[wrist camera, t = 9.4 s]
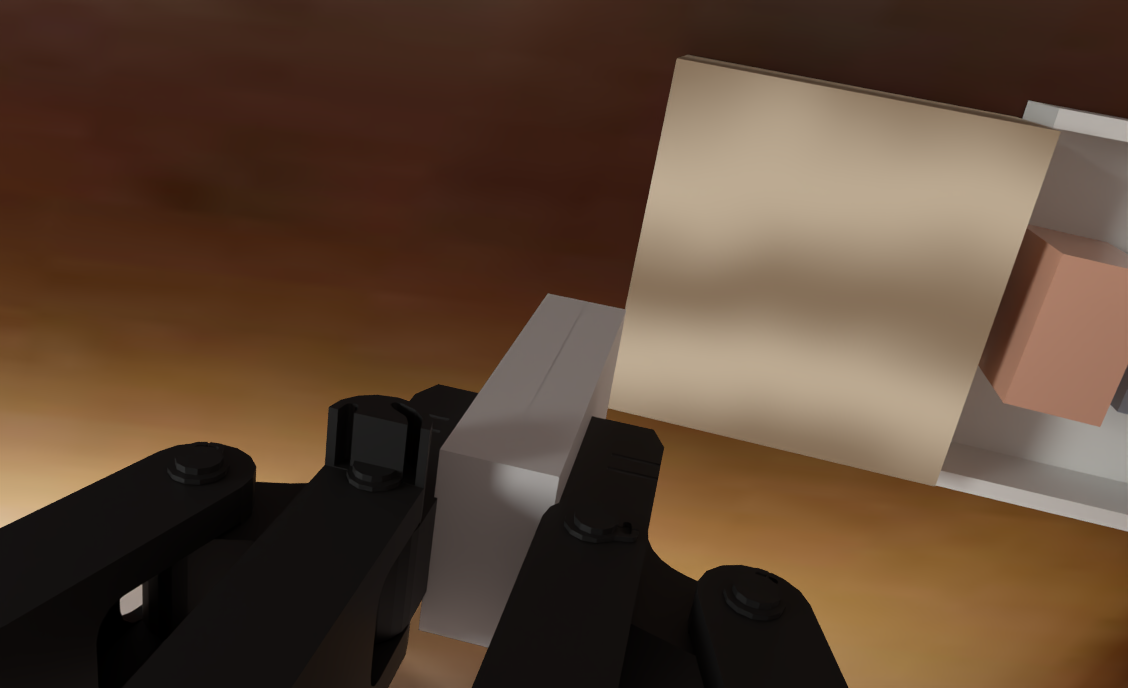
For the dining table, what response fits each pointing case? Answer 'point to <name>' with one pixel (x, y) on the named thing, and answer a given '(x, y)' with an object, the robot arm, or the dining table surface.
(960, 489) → the box
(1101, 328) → the terracotta tile
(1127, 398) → the slate tile
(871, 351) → the cream square tray
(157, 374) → the dining table surface
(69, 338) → the dining table surface
